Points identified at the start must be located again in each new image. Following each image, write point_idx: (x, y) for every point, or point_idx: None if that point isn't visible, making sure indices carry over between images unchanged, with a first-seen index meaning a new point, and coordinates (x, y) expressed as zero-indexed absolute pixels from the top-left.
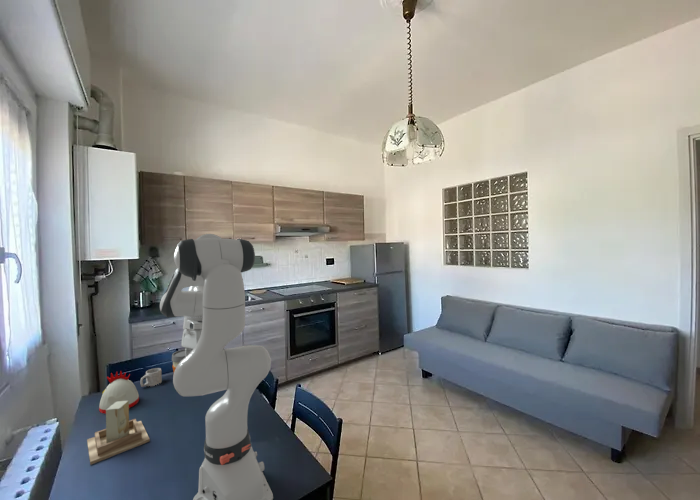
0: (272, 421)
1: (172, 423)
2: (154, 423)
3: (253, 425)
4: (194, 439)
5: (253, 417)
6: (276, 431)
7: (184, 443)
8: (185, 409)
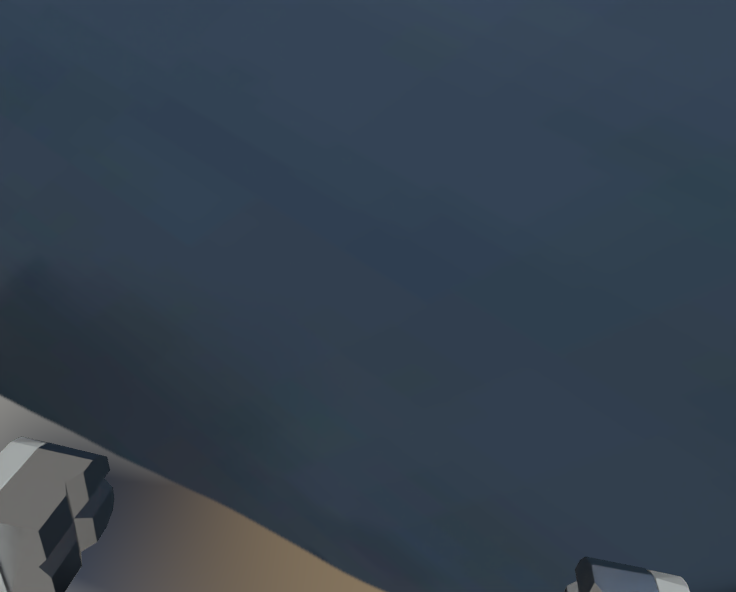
0: (95, 421)
1: (565, 107)
2: (720, 10)
3: (129, 358)
4: (246, 104)
5: (190, 408)
6: (20, 371)
7: (254, 44)
8: (679, 272)
